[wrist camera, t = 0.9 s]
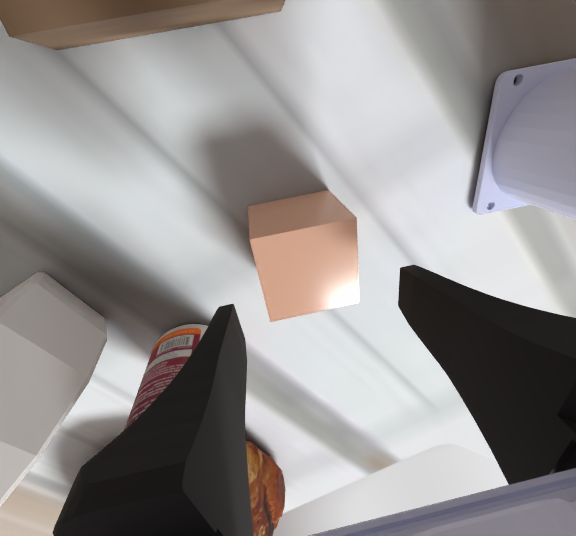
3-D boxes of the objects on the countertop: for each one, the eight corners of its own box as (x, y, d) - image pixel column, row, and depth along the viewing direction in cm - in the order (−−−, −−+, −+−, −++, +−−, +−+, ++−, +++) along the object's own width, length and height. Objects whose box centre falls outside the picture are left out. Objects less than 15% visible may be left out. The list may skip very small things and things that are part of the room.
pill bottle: (146, 369, 22) (73, 572, 13) (166, 310, 20) (94, 506, 10) (221, 383, 24) (208, 568, 15) (248, 331, 22) (253, 512, 12)
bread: (112, 523, 34) (69, 663, 26) (55, 437, 25) (-41, 607, 17) (281, 497, 37) (293, 616, 28) (284, 410, 28) (302, 546, 19)
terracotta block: (328, 189, 17) (356, 217, 13) (334, 259, 20) (359, 302, 16) (247, 205, 17) (249, 239, 13) (264, 274, 20) (270, 321, 15)
